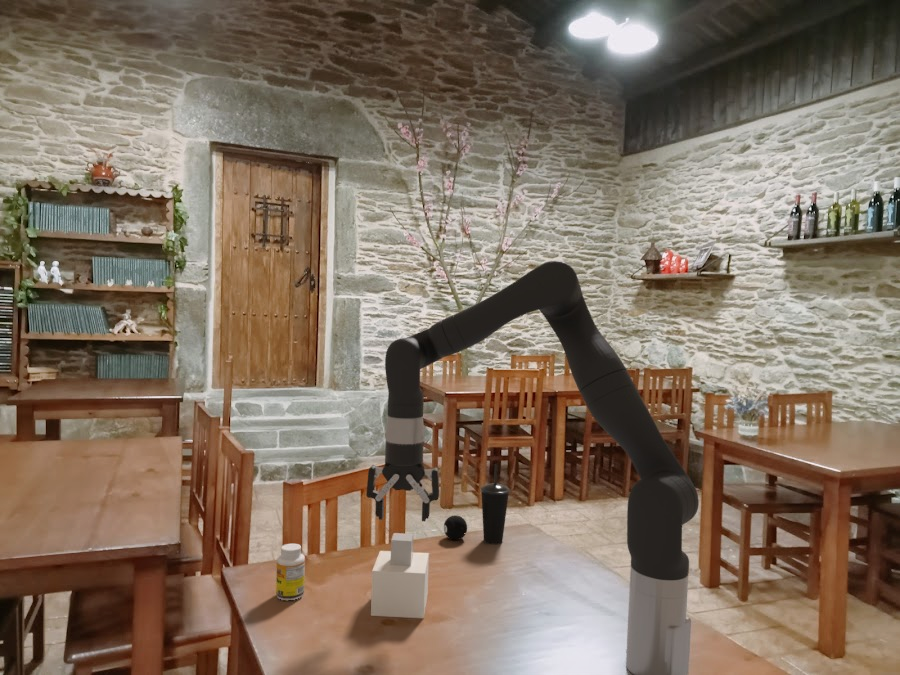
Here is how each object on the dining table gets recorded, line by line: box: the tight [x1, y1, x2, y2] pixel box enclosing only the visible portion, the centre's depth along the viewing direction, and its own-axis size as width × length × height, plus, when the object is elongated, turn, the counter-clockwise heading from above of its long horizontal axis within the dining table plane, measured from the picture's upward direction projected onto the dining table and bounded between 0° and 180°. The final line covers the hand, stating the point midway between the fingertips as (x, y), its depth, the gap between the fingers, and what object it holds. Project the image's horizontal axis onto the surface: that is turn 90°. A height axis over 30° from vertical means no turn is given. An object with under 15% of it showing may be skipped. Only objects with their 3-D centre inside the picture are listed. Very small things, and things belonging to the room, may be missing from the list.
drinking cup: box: [479, 463, 511, 545], centre depth 164 cm, size 8×8×20 cm
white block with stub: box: [370, 532, 430, 619], centre depth 127 cm, size 10×10×14 cm
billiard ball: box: [443, 515, 468, 541], centre depth 165 cm, size 6×6×6 cm
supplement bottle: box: [275, 543, 306, 601], centre depth 129 cm, size 6×6×10 cm
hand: (402, 519), depth 126 cm, fingers open, 8 cm apart
